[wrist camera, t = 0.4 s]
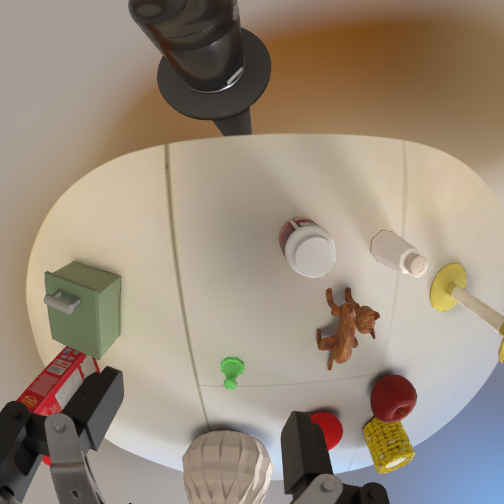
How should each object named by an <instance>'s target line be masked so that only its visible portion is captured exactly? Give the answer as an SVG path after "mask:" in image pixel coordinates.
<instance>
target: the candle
mask: <svg viewBox="0 0 504 504" xmlns="http://www.w3.org/2000/svg"><path fill="white" fill-rule="evenodd" d="M465 286H466V274H465V270H464V268H463V267H462V266H461V265H460V264H457V263H451V264H448V265H446V266H445V267H443V268H442V269H441V270H440V271H439V272H438V274H437V276H436V277H435V279H434V280H433V283H432V287H431V290H430V301H431V304H432V307H434V308H435V309H436V310H437V311H446V310H449V309H451V308H452V307H453V306H454V305H456V304H457V303H458V302H459V303H460V304H461V305H463V306H464V307H465V308H467V309H468V310H469V311H471V312H472V313H473V314H475V315H476V316H477V317H479V318H480V319H481V320H483V321H484V322H485V323H486V324H488V325H489V326H490V327H492V328H493V329H494V330H495V331H497V332H498V333H499V334H500V335H501V336H503V337H504V317H503V316H502V315H500V314H499V313H498V312H496V311H495V310H493V309H492V308H491V307H489V306H488V305H486V304H485V303H483V302H482V301H480V300H479V299H477V298H476V297H474V296H473V295H471V294H470V293H468V292H467V291H465V290H464V289H465ZM498 354H499V360H500V361H501V362H504V338H503V340H502V342H501V345H500V349H499V352H498Z"/></svg>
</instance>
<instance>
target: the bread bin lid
mask: <svg viewBox="0 0 504 504" xmlns="http://www.w3.org/2000/svg"><path fill="white" fill-rule="evenodd" d="M45 287H46V295H45V297H44V303H45V304H47V307H48V314H49V322H50V328H51V334H52V339H54V340H56V341H58V342H60V343H62V344H64V345H66V346H68V347H71V348H73V349H75V350H77V351H79V352H82V353H84V354H86V355H89V356H91V357H93V358H96V359H98V360H100V359H101V358H102V357H101V346H100V333H99V313H98V289H95V288H92V287H89V286H86V285H83V284H80V283H78V282H75V281H72V280H69V279H67V278H64V277H61V276H59V275H56V274H53V273H51V272H48V271H47V272H45Z"/></svg>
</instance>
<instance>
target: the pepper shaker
mask: <svg viewBox="0 0 504 504" xmlns="http://www.w3.org/2000/svg"><path fill="white" fill-rule="evenodd" d="M370 252H371V253H372V255H373V256H374V258H375V259H376V261H377V262H380V263H382V264H384V265H386V266H388V267H391V268H393V269H395V270H397V271H399V272H402V273H409V274H412V275H413V276H414V277H420V276H422V275H423V274H424V273H425V272H426V270H427V260H426V258H425V257H423V256H420V255H419V253H418V251H417V249H416V248H415V247H413V246H412V245H411V244H409V243H408V242H406V241H405V240H404V239H402V238H401V237H400V236H398V235H397V234H395V233H394V232H390V231H383V230H382V231H381V232H380V233H379V234H377V235H376V236H375V237H374V238H373V239H372V245H371V251H370Z"/></svg>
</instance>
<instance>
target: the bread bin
mask: <svg viewBox="0 0 504 504" xmlns="http://www.w3.org/2000/svg"><path fill="white" fill-rule="evenodd" d="M53 274H56V275H59V276H61V277H64V278H67V279H69V280H72V281H75V282H78V283H80V284H83V285H86V286H89V287H92V288H95V289H98V313H99V333H100V346H101V357H102V356H103V355H104V354H105V353H106V351H107V350H108V349H109V347H110V346H111V345H112V344H113V342H114V341H115V340H116V339H117V337H118V336H119V335H120V283H121V276H118V275H114V274H111V273H108V272H104V271H101V270H98V269H95V268H91V267H88V266H85V265H82V264H79V263H76V262H72V263H70V264H68V265H66V266H64V267H63V268H61V269H59V270H57V271H55V272H53Z"/></svg>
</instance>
